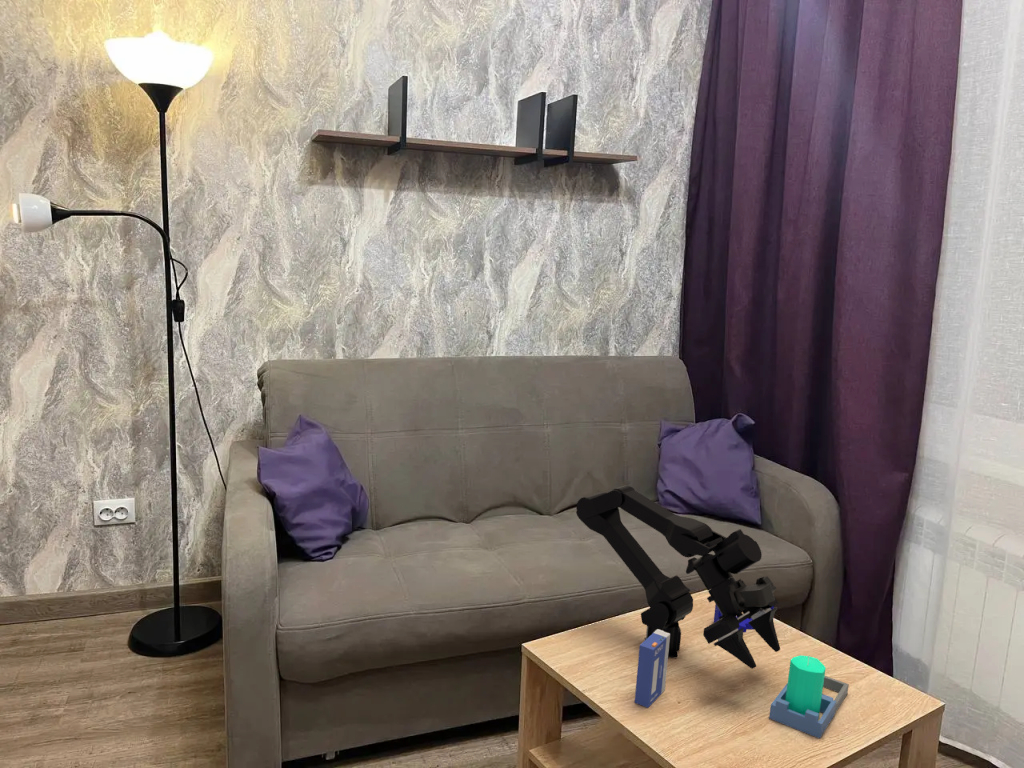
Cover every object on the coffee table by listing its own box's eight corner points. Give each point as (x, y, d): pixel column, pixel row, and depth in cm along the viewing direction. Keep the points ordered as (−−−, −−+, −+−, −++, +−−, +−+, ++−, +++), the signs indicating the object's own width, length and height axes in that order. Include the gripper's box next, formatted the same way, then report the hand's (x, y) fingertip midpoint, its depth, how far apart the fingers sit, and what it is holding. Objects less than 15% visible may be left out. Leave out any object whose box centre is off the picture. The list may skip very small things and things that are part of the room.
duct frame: (819, 739, 142) (822, 718, 141) (768, 719, 147) (771, 699, 146) (847, 693, 157) (850, 674, 156) (800, 676, 162) (802, 658, 161)
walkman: (648, 708, 149) (653, 648, 146) (634, 702, 150) (639, 643, 148) (665, 689, 155) (671, 631, 153) (652, 684, 157) (657, 626, 154)
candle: (793, 726, 145) (801, 665, 143) (778, 706, 151) (785, 647, 149) (824, 725, 146) (833, 664, 144) (808, 705, 152) (816, 646, 150)
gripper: (724, 579, 146) (774, 661, 141) (774, 553, 159) (821, 627, 154) (683, 604, 153) (728, 682, 148) (734, 577, 166) (778, 648, 161)
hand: (766, 659), depth 152 cm, fingers open, 9 cm apart
